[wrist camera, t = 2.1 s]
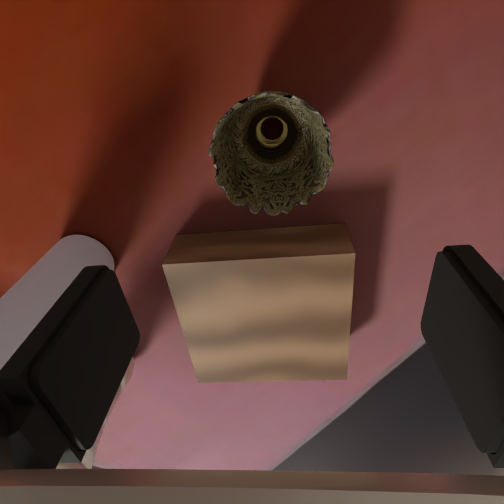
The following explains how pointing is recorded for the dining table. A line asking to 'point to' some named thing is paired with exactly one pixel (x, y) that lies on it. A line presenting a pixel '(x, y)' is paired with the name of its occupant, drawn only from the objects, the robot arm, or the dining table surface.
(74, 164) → the dining table surface
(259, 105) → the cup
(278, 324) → the walnut plinth
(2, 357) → the spray bottle
